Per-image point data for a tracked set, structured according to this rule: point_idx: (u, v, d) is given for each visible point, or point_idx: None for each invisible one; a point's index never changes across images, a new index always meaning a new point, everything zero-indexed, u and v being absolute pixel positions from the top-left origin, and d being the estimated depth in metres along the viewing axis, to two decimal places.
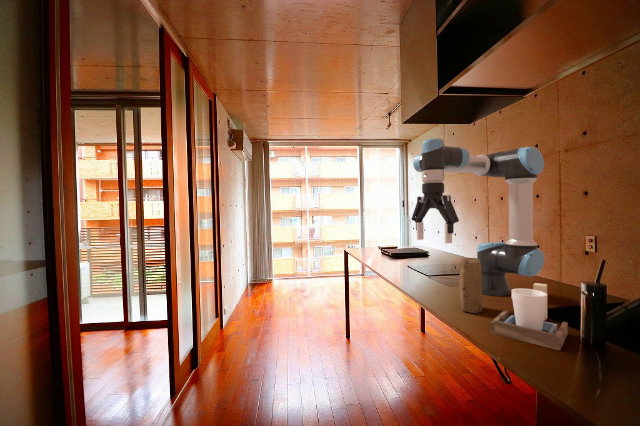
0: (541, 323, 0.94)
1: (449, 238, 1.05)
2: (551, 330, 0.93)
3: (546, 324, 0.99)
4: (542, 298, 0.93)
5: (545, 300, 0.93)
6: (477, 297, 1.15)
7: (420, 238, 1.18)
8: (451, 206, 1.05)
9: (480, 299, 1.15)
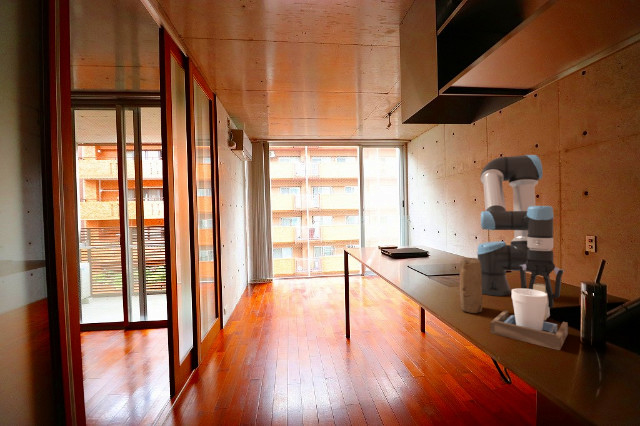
0: (541, 323, 0.94)
1: (548, 312, 1.08)
2: (551, 330, 0.93)
3: (546, 324, 0.99)
4: (542, 298, 0.93)
5: (545, 300, 0.94)
6: (477, 297, 1.15)
7: None
8: (560, 281, 1.06)
9: (480, 299, 1.15)
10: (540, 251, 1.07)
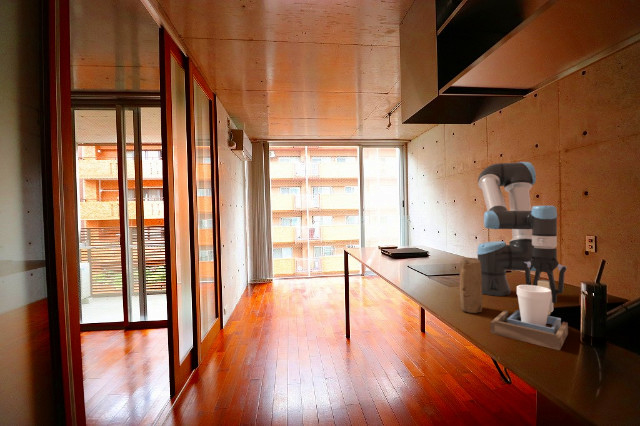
0: (545, 318, 0.99)
1: (552, 307, 1.13)
2: (555, 323, 0.98)
3: (550, 318, 1.04)
4: (546, 294, 0.97)
5: (549, 296, 0.98)
6: (477, 297, 1.15)
7: None
8: (563, 278, 1.11)
9: (480, 299, 1.15)
10: (544, 249, 1.12)
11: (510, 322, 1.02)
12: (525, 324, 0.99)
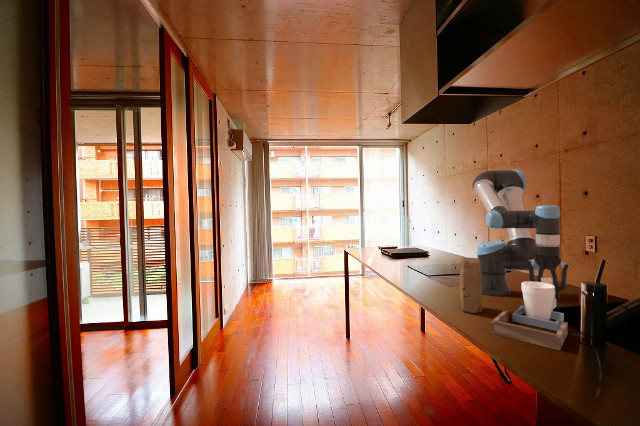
0: (549, 312, 1.03)
1: (555, 302, 1.18)
2: (558, 318, 1.02)
3: (553, 313, 1.08)
4: (550, 289, 1.02)
5: (553, 291, 1.02)
6: (477, 297, 1.15)
7: None
8: (566, 275, 1.15)
9: (480, 299, 1.15)
10: (547, 247, 1.16)
11: (515, 317, 1.07)
12: (530, 318, 1.04)
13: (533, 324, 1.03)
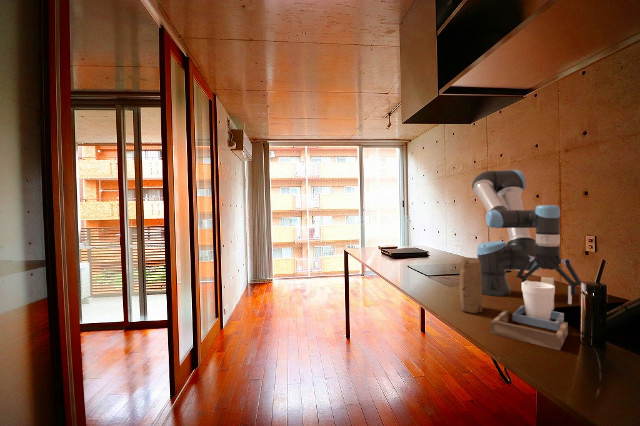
0: (549, 312, 1.03)
1: (571, 299, 1.15)
2: (559, 318, 1.03)
3: (554, 313, 1.09)
4: (550, 289, 1.02)
5: (553, 291, 1.02)
6: (477, 297, 1.15)
7: None
8: (573, 270, 1.14)
9: (480, 299, 1.15)
10: (548, 246, 1.16)
11: (515, 317, 1.07)
12: (530, 318, 1.04)
13: (533, 324, 1.03)
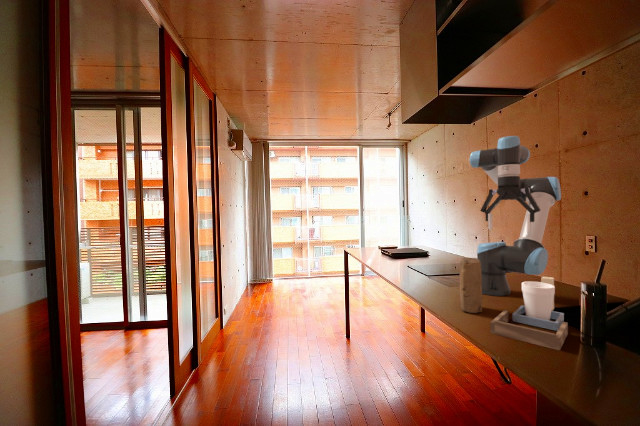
0: (549, 312, 1.03)
1: (530, 226, 1.17)
2: (559, 318, 1.03)
3: (554, 313, 1.09)
4: (550, 289, 1.02)
5: (553, 291, 1.02)
6: (477, 297, 1.15)
7: (491, 228, 1.27)
8: (532, 197, 1.17)
9: (480, 299, 1.15)
10: (508, 176, 1.19)
11: (515, 317, 1.07)
12: (530, 318, 1.04)
13: (533, 324, 1.03)
